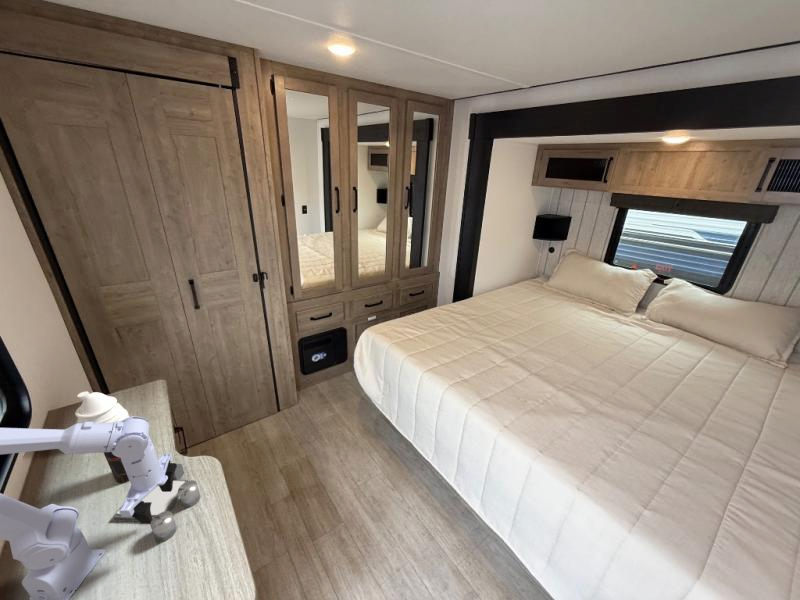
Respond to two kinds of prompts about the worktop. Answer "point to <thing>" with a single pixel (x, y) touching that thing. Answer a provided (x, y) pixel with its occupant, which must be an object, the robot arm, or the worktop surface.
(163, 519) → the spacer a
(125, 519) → the scale
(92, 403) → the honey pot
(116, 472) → the deodorant
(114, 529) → the worktop surface
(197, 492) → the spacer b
